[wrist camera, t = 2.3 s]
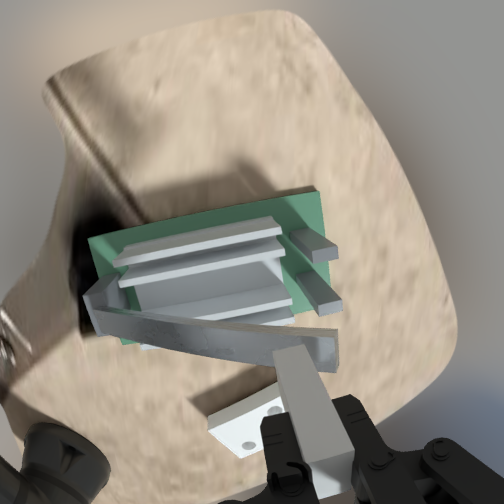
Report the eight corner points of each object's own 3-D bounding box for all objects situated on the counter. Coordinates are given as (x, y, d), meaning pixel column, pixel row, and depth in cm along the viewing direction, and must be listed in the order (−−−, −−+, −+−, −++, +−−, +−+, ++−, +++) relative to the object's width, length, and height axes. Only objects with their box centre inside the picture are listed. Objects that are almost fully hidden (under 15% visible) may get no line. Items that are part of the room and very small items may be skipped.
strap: (108, 328, 24) (101, 332, 24) (99, 305, 24) (92, 309, 23) (339, 363, 15) (335, 372, 15) (337, 329, 15) (333, 337, 14)
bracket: (299, 363, 35) (316, 405, 28) (323, 397, 37) (341, 437, 30) (207, 411, 36) (207, 455, 28) (238, 439, 37) (243, 481, 30)
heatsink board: (123, 342, 32) (102, 386, 24) (89, 237, 29) (52, 259, 21) (330, 302, 33) (360, 340, 25) (317, 190, 30) (351, 198, 22)
